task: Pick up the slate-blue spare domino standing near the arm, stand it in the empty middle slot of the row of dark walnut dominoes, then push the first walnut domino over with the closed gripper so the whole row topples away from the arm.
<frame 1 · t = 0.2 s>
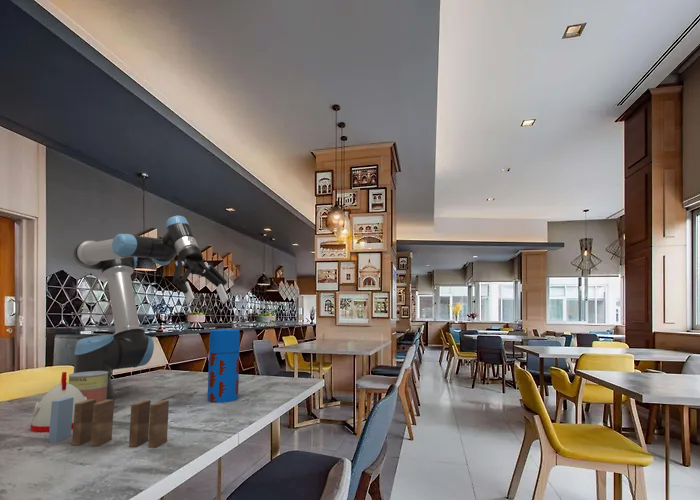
hand: (209, 301, 139), 36 cm above the table, tool tilted 35°, fingers open, 13 cm apart
thermos: (222, 399, 154), on the table
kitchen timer: (60, 426, 122), on the table
domino 4: (138, 443, 105), on the table
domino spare: (59, 439, 109), on the table
canned food: (86, 411, 139), on the table
domino 2: (101, 442, 106), on the table
domino 5: (157, 444, 104), on the table
domino 1: (82, 442, 106), on the table
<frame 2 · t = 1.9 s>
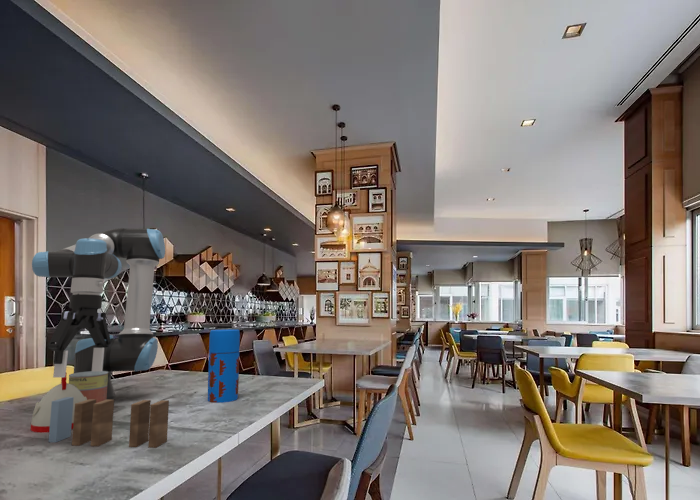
hand: (79, 374, 112), 16 cm above the table, tool pointing down, fingers open, 13 cm apart
nothing on the table moved.
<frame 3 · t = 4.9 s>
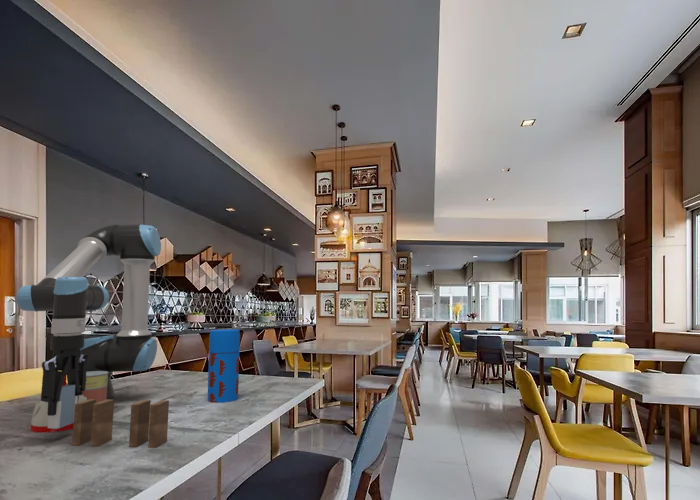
hand: (62, 424, 110), 4 cm above the table, tool pointing down, fingers closed on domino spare, 5 cm apart
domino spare: (62, 425, 110), point 3 cm above the table, touching gripper
everything else where it was.
when the fingers open (1 cm above the table, at t = 9.7 s): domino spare stays where it is, on the table.
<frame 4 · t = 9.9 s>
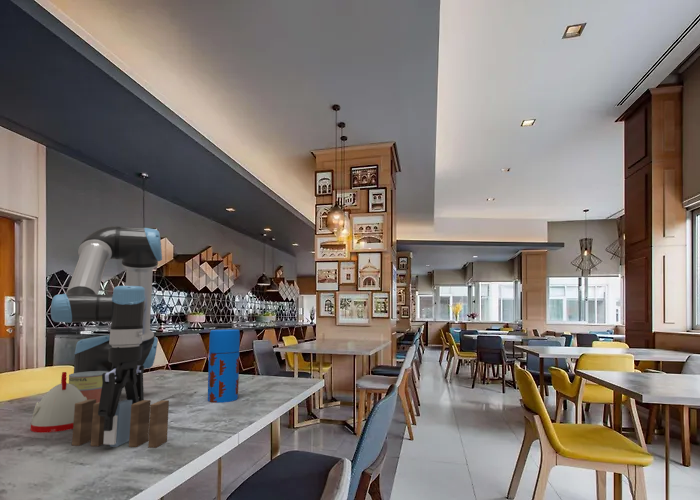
hand: (120, 438, 105), 1 cm above the table, tool pointing down, fingers open, 7 cm apart
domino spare: (119, 443, 105), on the table
everything else where it was.
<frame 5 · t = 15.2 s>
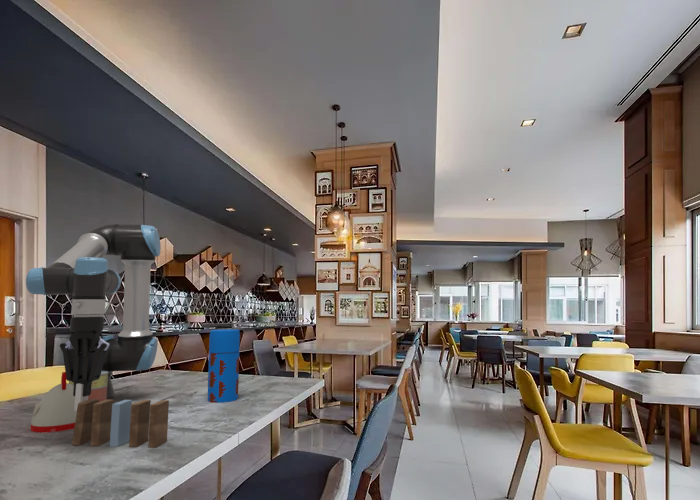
hand: (80, 409, 107), 8 cm above the table, tool pointing down, fingers closed
domino 1: (82, 442, 106), on the table, touching gripper
everything else where it was.
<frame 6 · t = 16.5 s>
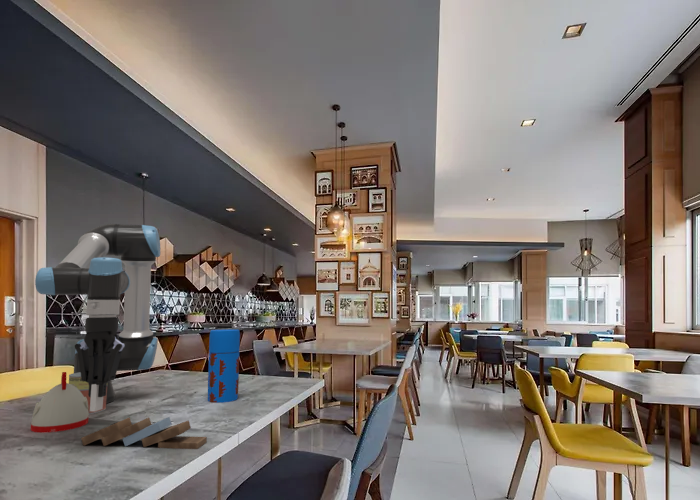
hand: (96, 410, 107), 8 cm above the table, tool pointing down, fingers closed
domino 4: (148, 439, 104), point 1 cm above the table, tilted 71°, touching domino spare
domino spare: (130, 439, 105), point 1 cm above the table, tilted 66°, touching domino 2, domino 4
domino 2: (109, 439, 105), point 1 cm above the table, tilted 67°, touching domino 1, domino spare
domino 5: (163, 443, 104), on the table, tilted 90°
domino 1: (89, 438, 106), point 1 cm above the table, tilted 68°, touching domino 2
everything else where it was.
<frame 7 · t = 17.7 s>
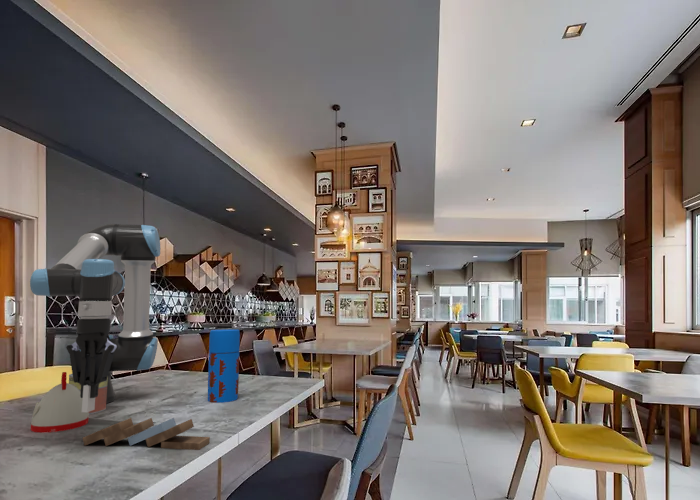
hand: (88, 410, 107), 8 cm above the table, tool pointing down, fingers closed
domino 4: (153, 439, 104), point 1 cm above the table, tilted 67°, touching domino 5, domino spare
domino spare: (135, 438, 106), point 1 cm above the table, tilted 67°, touching domino 2, domino 4
domino 5: (167, 442, 104), on the table, tilted 90°, touching domino 4
domino 1: (90, 438, 106), point 1 cm above the table, tilted 69°, touching domino 2
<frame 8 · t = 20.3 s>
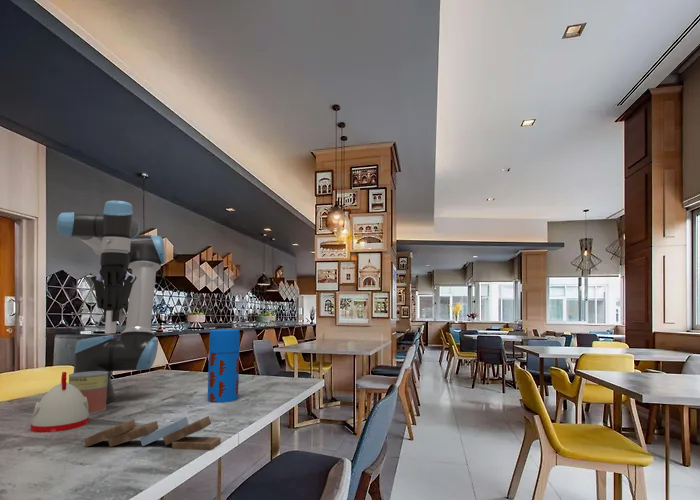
hand: (110, 333, 122), 26 cm above the table, tool pointing down, fingers closed
domino 4: (169, 438, 104), point 1 cm above the table, tilted 67°, touching domino 5, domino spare
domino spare: (146, 439, 105), point 1 cm above the table, tilted 67°, touching domino 2, domino 4
domino 2: (114, 439, 105), point 1 cm above the table, tilted 73°, touching domino 1, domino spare
domino 5: (177, 443, 103), on the table, tilted 90°, touching domino 4
domino 1: (92, 439, 105), point 1 cm above the table, tilted 70°, touching domino 2
everything else where it was.
at the end: domino 5 tilted 90°; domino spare inside the target area (3.4 cm from its centre), point 0.9 cm above the table; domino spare tilted 66° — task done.
